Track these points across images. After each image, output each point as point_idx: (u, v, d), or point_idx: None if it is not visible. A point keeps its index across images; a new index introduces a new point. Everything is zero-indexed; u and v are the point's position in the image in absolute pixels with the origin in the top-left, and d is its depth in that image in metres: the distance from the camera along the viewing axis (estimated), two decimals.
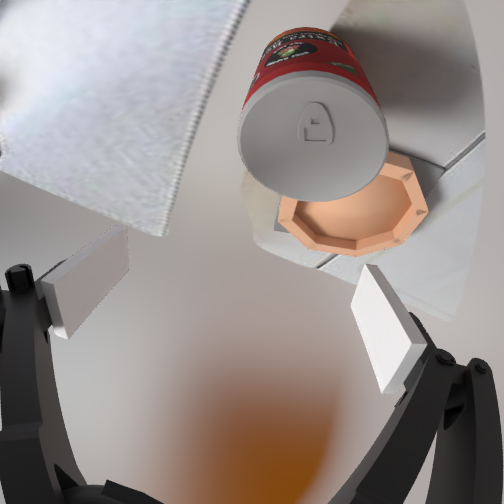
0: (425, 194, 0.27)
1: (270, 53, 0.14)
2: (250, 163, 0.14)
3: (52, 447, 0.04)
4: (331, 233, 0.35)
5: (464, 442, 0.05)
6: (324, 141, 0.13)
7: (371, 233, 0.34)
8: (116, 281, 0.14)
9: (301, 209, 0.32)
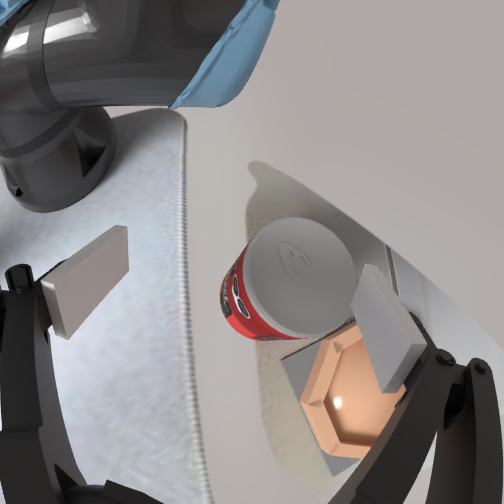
0: None
1: (228, 276, 0.22)
2: (279, 321, 0.16)
3: (52, 447, 0.04)
4: (381, 431, 0.25)
5: (464, 442, 0.05)
6: (307, 266, 0.18)
7: None
8: (116, 281, 0.14)
9: (340, 431, 0.24)
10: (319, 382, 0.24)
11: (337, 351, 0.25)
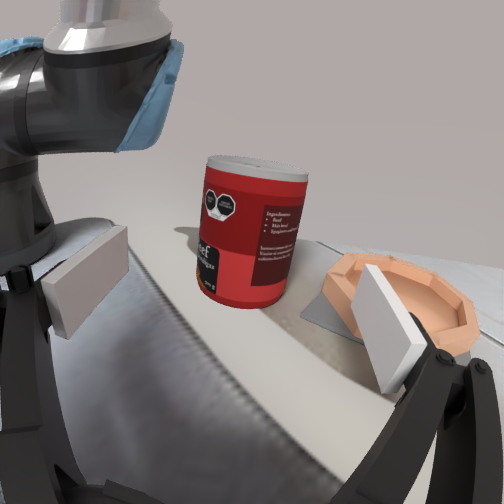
0: None
1: (200, 229, 0.22)
2: (258, 168, 0.18)
3: (52, 447, 0.04)
4: (453, 324, 0.21)
5: (464, 442, 0.05)
6: (256, 165, 0.22)
7: (440, 299, 0.26)
8: (116, 281, 0.14)
9: None
10: (351, 297, 0.22)
11: (341, 277, 0.25)
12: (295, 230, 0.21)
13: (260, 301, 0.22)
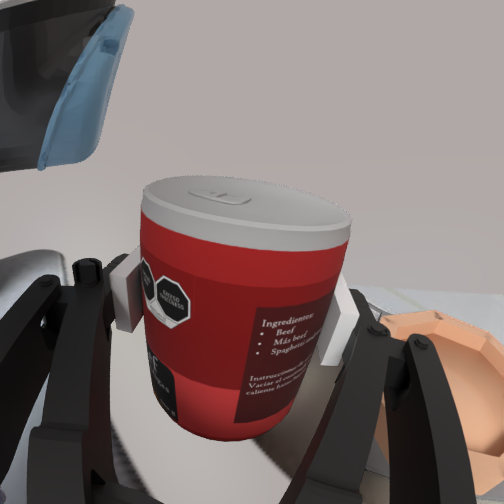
0: None
1: (144, 320, 0.12)
2: None
3: (93, 451, 0.04)
4: None
5: (416, 424, 0.06)
6: (243, 196, 0.11)
7: (494, 371, 0.15)
8: None
9: None
10: None
11: None
12: (319, 331, 0.11)
13: (252, 435, 0.11)
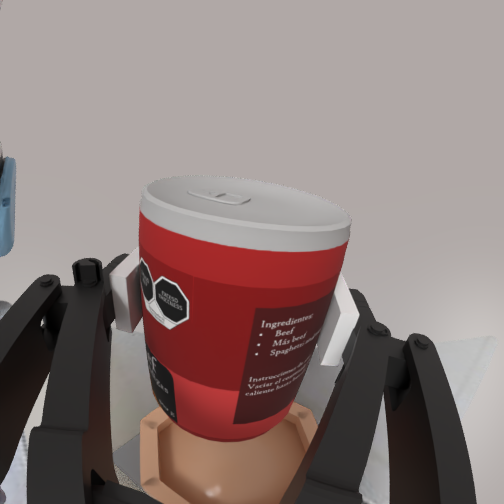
0: None
1: None
2: None
3: (93, 452, 0.04)
4: None
5: (417, 424, 0.06)
6: (242, 196, 0.11)
7: (297, 448, 0.21)
8: None
9: None
10: (144, 460, 0.17)
11: (152, 428, 0.20)
12: (319, 332, 0.11)
13: (251, 436, 0.11)
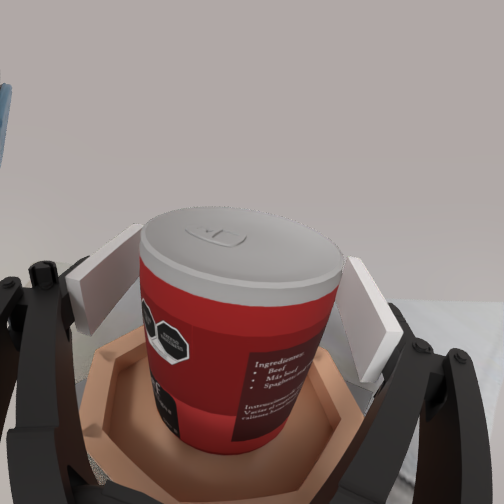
0: None
1: None
2: (233, 278, 0.08)
3: (66, 448, 0.04)
4: (295, 467, 0.12)
5: (448, 434, 0.05)
6: (239, 234, 0.12)
7: (311, 401, 0.16)
8: (134, 278, 0.14)
9: (186, 491, 0.10)
10: (87, 400, 0.12)
11: (108, 360, 0.15)
12: (311, 362, 0.11)
13: (248, 450, 0.12)
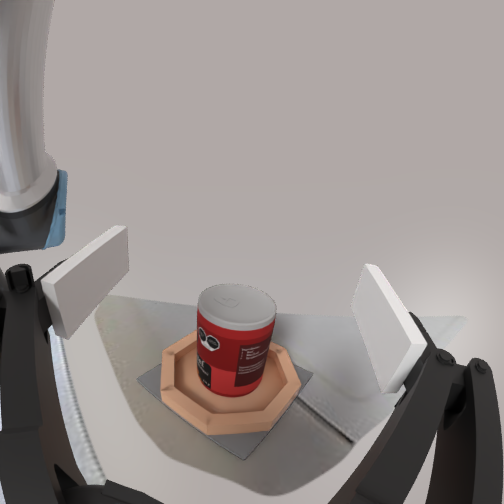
0: None
1: (197, 346, 0.29)
2: (234, 322, 0.25)
3: (52, 447, 0.04)
4: (264, 404, 0.29)
5: (464, 442, 0.05)
6: (236, 300, 0.29)
7: (275, 375, 0.33)
8: (116, 281, 0.14)
9: (213, 413, 0.27)
10: (164, 375, 0.29)
11: (170, 355, 0.32)
12: (265, 350, 0.28)
13: (242, 393, 0.29)
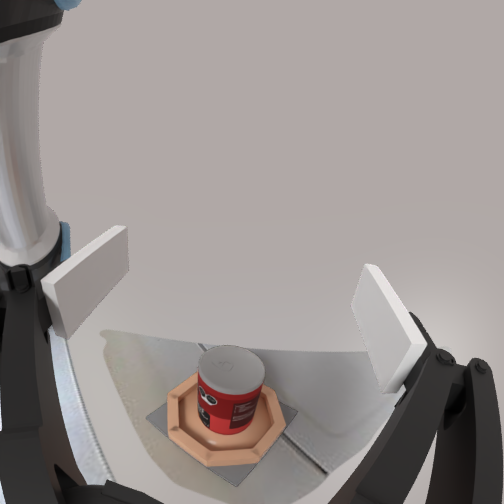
0: None
1: (197, 397, 0.32)
2: (229, 388, 0.28)
3: (52, 447, 0.04)
4: (254, 441, 0.32)
5: (464, 442, 0.05)
6: (230, 364, 0.32)
7: (264, 414, 0.37)
8: (116, 281, 0.14)
9: (212, 448, 0.30)
10: (170, 416, 0.32)
11: (175, 398, 0.35)
12: (255, 403, 0.31)
13: (235, 432, 0.32)
